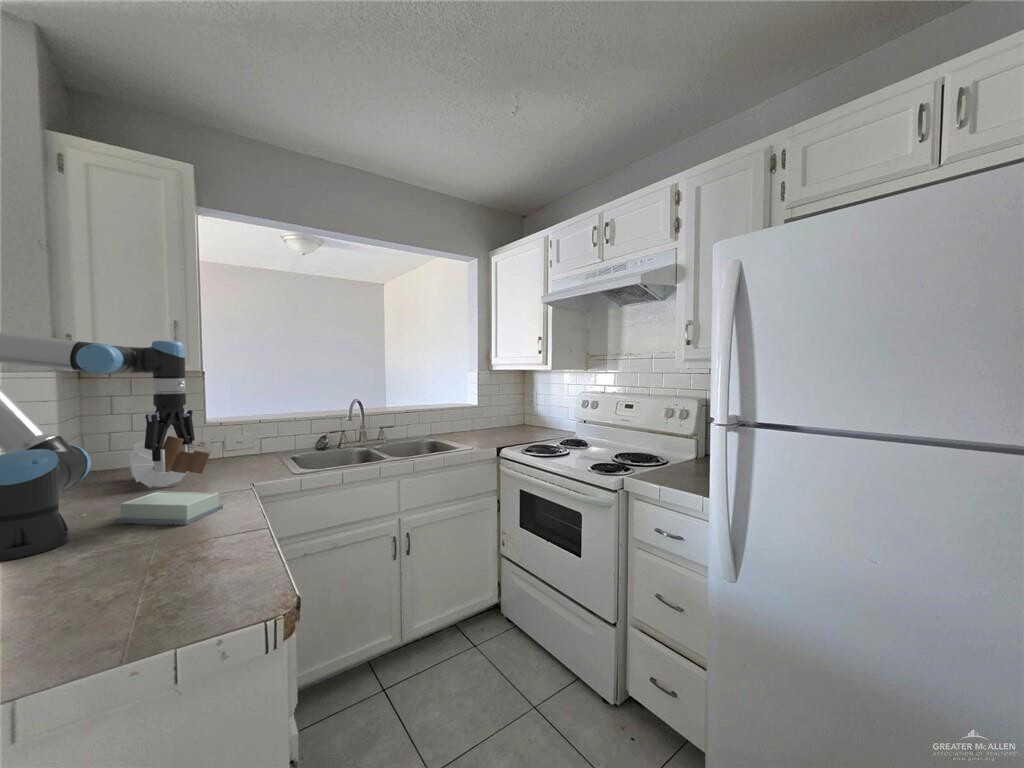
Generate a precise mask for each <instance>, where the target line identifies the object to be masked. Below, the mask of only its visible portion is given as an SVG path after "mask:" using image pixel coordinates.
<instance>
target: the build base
mask: <svg viewBox="0 0 1024 768" xmlns="http://www.w3.org/2000/svg"><path fill="white" fill-rule="evenodd" d="M222 508H223V509H224V504H220V493H218V492H198V491H197V492H196V491H195V492H193V491H192V492H191V491H190V492H189V491H156V492H153V493H150V494H146V495H144V496H140V497H137V498H133V499H132V500H128V501H124V502H121V504H120V517H118V518H115V524H124V523H135V524H134V525H165V526H166V525H167V526H169V525H170V526H172V525H171V524H174V525H173V526H187V525H186V524H188V525H190V524H192V523H194V522H196V521H195V520H197V521H198V519H199V520H201V519H203V518H205V517H207V515H208V516H209V514H210V515H212V514H214V513H217V512H218V510H219V511H220V509H221V510H223V509H222ZM216 511H217V512H216ZM211 513H212V514H211ZM202 517H203V518H202ZM200 518H201V519H200ZM193 521H194V522H193ZM191 522H192V523H191ZM189 523H190V524H189ZM168 524H169V525H168ZM178 524H179V525H178Z"/></svg>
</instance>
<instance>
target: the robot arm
mask: <svg viewBox="0 0 1024 768" xmlns="http://www.w3.org/2000/svg"><path fill="white" fill-rule="evenodd" d="M0 364H5V365H19V366H26V367H27V366H29V367H38V368H46V369H47V368H48V369H57V370H58V369H59V370H68V371H77V372H85V373H87V372H88V373H91V374H96V375H107V374H145V373H146V374H149V373H151V374H152V391H153V392H154V394H153V395H152V398H153V403H152V404H153V406H154V407H155V408H156V409H155V411H154V413H151V414H145V420H146V421H145V422H146V427H145V437H144V438H145V439H144V440H145V446H144V448H145V449H148V450H152V460H153V461H154V472H165V450H164V449H162V447H163V443H164V440H165V437H166V436H167V433H168V430H169V428H170V427H171V426H173V430H174V432H175V435H176V437H177V438H181V439H184V441H183V443H182V446H181V448H180V450H179V452H178V454H179V453H180V452H181V451H186V452H190V447H189V446H190V445H191V444H193V441H195V439H196V438H195V432H194V423H193V413H194V412H193V410H191V409H185V408H184V406H186V404H187V402H186V401H187V398H186V397H187V394H186V393H185V391H186V355H185V346H184V344H183V342H180V341H177V340H176V341H175V340H153V341H152V342H151V345H150V346H149V347H148V346H147V347H146V346H145V347H137V346H136V347H135V346H122V345H111V344H106V343H95V342H87V341H78V340H70V339H63V338H55V337H47V336H38V335H31V334H22V333H17V332H15V333H14V332H6V331H0ZM157 445H158V446H157ZM0 449H1V450H2V451H3V452H4V454H0V562H2V561H9V559H10V560H15V558H16V559H20V557H21V558H25V557H24V556H26V557H29V556H28V555H30V556H34V555H38V554H41V553H44V551H45V552H47V550H48V551H50V549H51V550H54V549H56V548H58V546H59V547H61V546H63V545H65V544H67V543H68V542H69V541H70V540H69V539H71V537H70V536H71V535H70V534H71V533H70V529H69V527H68V526H67V523H66V522H65V520H64V518H63V516H62V514H61V512H60V503H59V501H60V500H59V499H60V498H59V492H62V491H64V490H66V489H69V488H72V487H73V486H74V485H76V484H78V483H79V482H81V481H82V480H83V479H84V478H85V477H86V476H87V475H88V473H89V472H90V470H91V466H92V461H91V457H90V455H89V454H88V452H87V451H86V450H85V449H83V448H82V447H79V446H77V445H73V444H72V445H71V444H69V443H68V442H67V441H66V440H65V439H64V438H63V437H62V436H61V434H54V433H49V432H47V431H46V430H45V429H44V428H43V427H42V426H41V425H40V424H39V423H38V422H37V420H35V419H34V418H33V417H32V416H31V415H30V414H29V413H28V412H27V410H25V409H24V407H22V406H21V405H20V404H19V403H18V402H17V401H16V400H15V399H14V398H13V397H12V395H11V394H9V392H8V391H6V390H5V389H4V388H3V387H2V386H1V385H0ZM62 544H63V545H62ZM60 545H61V546H60ZM55 547H56V548H55ZM53 548H54V549H53ZM40 552H41V553H40ZM37 553H38V554H37ZM33 554H34V555H33Z"/></svg>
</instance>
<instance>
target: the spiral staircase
mask: <svg viewBox="0 0 1024 768" xmlns="http://www.w3.org/2000/svg"><path fill="white" fill-rule="evenodd" d="M167 436H168V435H166V437H165V440H166V438H167ZM165 440H164V442H165ZM163 445H164V443H163ZM133 446H134V448H133V449H132V451H130V453H129V455H127V457H128V458H129V459H128V460H127V462H129V469H130V470H129V472H131V477H133V478H134V479H135V482H136V483H138V482H140V483H142V484H144V485H145V486H146V487H148V488H149V489H151V488H153V487H161V488H164V487H165V488H168V486H169V485H172V484H175V483H176V484H177V483H179V482H181V481H182V478H184V477H185V476H186V475H187V474H188V473H189V471H187V473H178V472H173V471H170V472H154V470H153V467H154V461H153V460H152V450H148V449H145V448H144V446H145V439H144V440H142V441H140V442H137V443H135V444H133ZM157 446H158V445H157Z"/></svg>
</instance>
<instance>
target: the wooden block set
mask: <svg viewBox="0 0 1024 768" xmlns="http://www.w3.org/2000/svg"><path fill="white" fill-rule="evenodd" d="M166 436H167V438H166V440H165V442H164V445H163V447H162V449H164V450H165V472H170V471H173V472H178V473H187V471H189V472H190V473H195V474H203V471H204V469H205V467H206V466H207V462H208V460H209V458H210V452H205V451H200V450H194V451H193V452H190V451H189V452H186V451H181V452H180V453H179V454H178V452H179V450H180V448H181V446H182V443H183V441H184V439H181V438H178V437H177V436H172V435H171V436H170V435H166ZM153 470H154V467H153ZM189 472H188V473H189ZM188 473H187V474H188Z"/></svg>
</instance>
